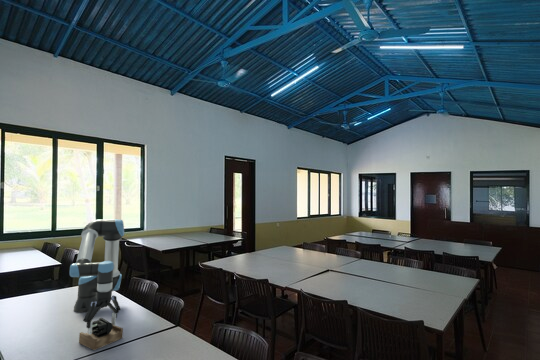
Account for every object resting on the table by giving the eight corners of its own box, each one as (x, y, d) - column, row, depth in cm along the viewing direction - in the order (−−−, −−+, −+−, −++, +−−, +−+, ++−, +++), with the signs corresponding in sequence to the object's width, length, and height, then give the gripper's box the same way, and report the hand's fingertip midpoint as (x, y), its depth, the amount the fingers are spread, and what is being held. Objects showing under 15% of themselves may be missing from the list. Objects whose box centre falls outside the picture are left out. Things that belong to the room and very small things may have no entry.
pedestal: (107, 331, 176) (107, 322, 176) (122, 338, 169) (122, 328, 170) (78, 343, 162) (79, 332, 162) (94, 350, 155) (95, 339, 156)
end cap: (112, 333, 166) (113, 321, 166) (99, 338, 160) (100, 325, 160) (103, 328, 172) (104, 316, 172) (90, 332, 166) (91, 320, 166)
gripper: (120, 283, 180) (118, 319, 179) (77, 294, 158) (74, 336, 157) (128, 285, 176) (126, 322, 175) (85, 297, 154) (82, 339, 153)
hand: (101, 329), depth 166 cm, fingers open, 13 cm apart
